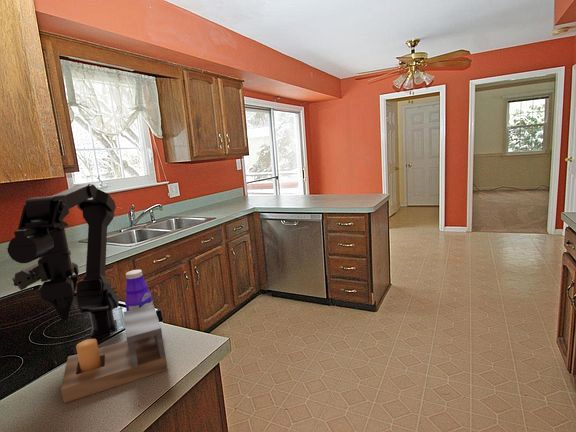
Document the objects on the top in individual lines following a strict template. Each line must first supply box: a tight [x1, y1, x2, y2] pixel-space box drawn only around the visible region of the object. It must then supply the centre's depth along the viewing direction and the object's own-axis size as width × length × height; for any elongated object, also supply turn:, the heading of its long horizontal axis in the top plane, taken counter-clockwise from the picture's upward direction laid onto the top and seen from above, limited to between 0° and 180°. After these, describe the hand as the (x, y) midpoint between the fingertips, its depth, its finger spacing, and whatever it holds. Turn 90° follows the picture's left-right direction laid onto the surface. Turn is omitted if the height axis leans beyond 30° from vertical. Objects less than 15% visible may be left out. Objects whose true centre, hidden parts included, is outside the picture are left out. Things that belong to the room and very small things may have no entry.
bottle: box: [124, 269, 154, 311], centre depth 98 cm, size 7×6×17 cm
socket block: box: [60, 304, 169, 404], centre depth 81 cm, size 15×20×10 cm
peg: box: [75, 338, 102, 373], centre depth 79 cm, size 4×4×8 cm
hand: (67, 313), depth 86 cm, fingers open, 9 cm apart
